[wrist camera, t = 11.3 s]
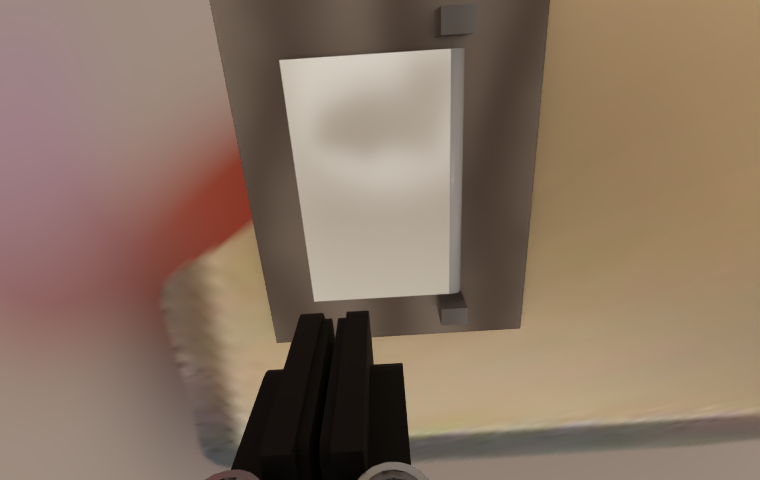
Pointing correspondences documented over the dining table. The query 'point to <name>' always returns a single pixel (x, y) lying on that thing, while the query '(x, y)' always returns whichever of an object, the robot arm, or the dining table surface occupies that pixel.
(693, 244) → the dining table surface
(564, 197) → the dining table surface
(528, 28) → the board
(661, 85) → the dining table surface
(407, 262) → the tile
